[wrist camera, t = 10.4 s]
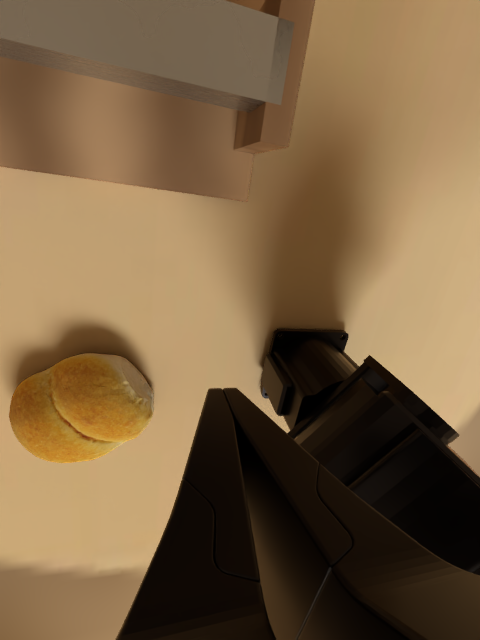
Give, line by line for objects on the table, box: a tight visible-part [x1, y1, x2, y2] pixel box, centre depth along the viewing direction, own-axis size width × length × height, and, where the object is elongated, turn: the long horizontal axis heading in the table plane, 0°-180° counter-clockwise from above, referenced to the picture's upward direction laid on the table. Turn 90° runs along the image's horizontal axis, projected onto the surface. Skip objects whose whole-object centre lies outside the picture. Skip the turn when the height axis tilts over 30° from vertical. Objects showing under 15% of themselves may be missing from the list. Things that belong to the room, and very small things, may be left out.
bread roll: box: [9, 353, 154, 463], centre depth 21 cm, size 8×9×4 cm
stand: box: [0, 0, 315, 202], centre depth 11 cm, size 20×10×6 cm, turn 81°
